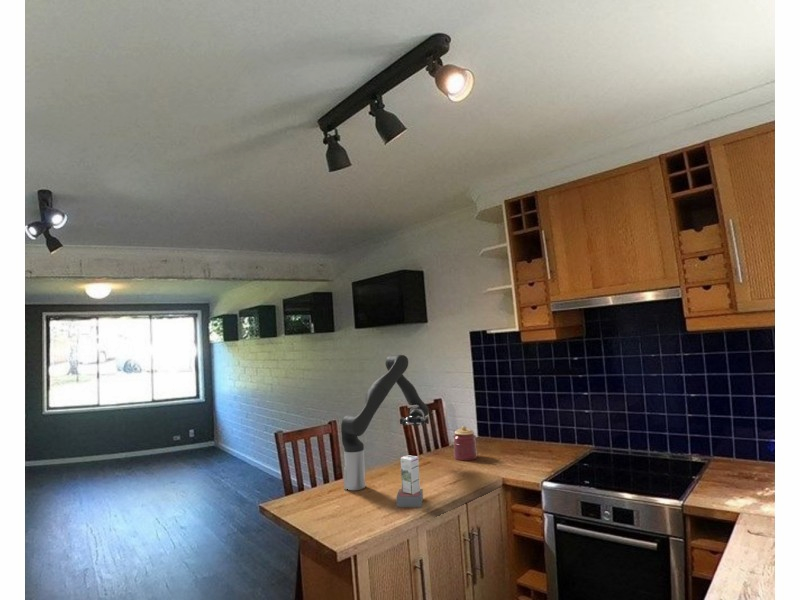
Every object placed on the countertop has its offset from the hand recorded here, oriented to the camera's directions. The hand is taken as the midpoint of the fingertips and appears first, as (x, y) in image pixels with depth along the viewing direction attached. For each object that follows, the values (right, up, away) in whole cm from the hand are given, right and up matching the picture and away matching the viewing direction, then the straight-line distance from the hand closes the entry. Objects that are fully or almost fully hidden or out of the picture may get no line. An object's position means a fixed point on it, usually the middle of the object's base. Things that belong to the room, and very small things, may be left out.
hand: (413, 423), depth 218 cm
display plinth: (-2, -26, -27) cm, 38 cm away
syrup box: (-2, -22, -26) cm, 34 cm away
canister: (+31, -30, +38) cm, 57 cm away
